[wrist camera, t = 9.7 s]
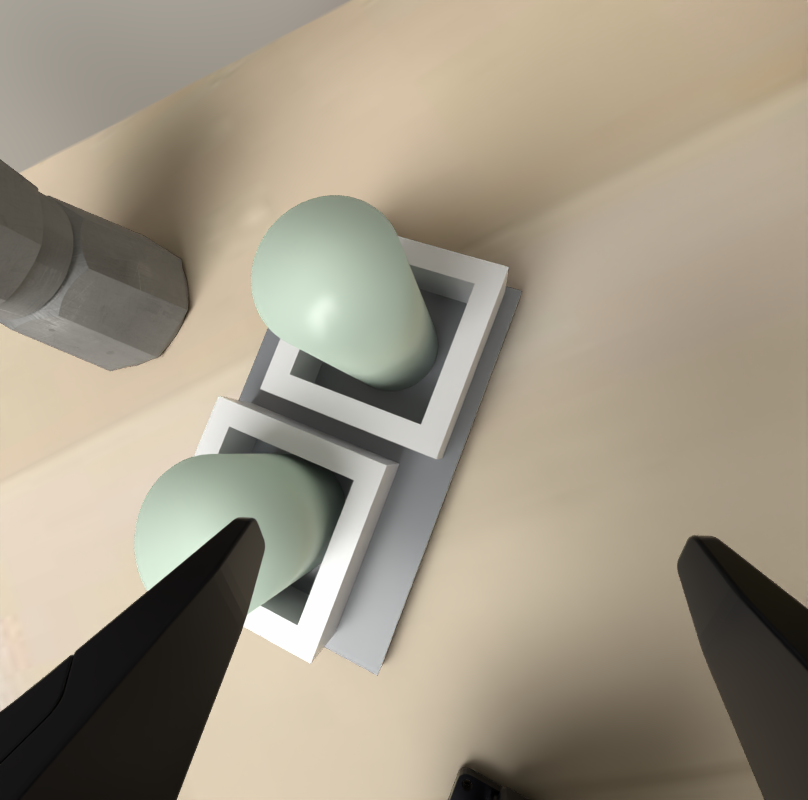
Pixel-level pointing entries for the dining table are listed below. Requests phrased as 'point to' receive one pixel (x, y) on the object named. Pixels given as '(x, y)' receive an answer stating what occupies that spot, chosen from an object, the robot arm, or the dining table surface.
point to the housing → (337, 471)
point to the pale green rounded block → (345, 292)
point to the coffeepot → (84, 280)
